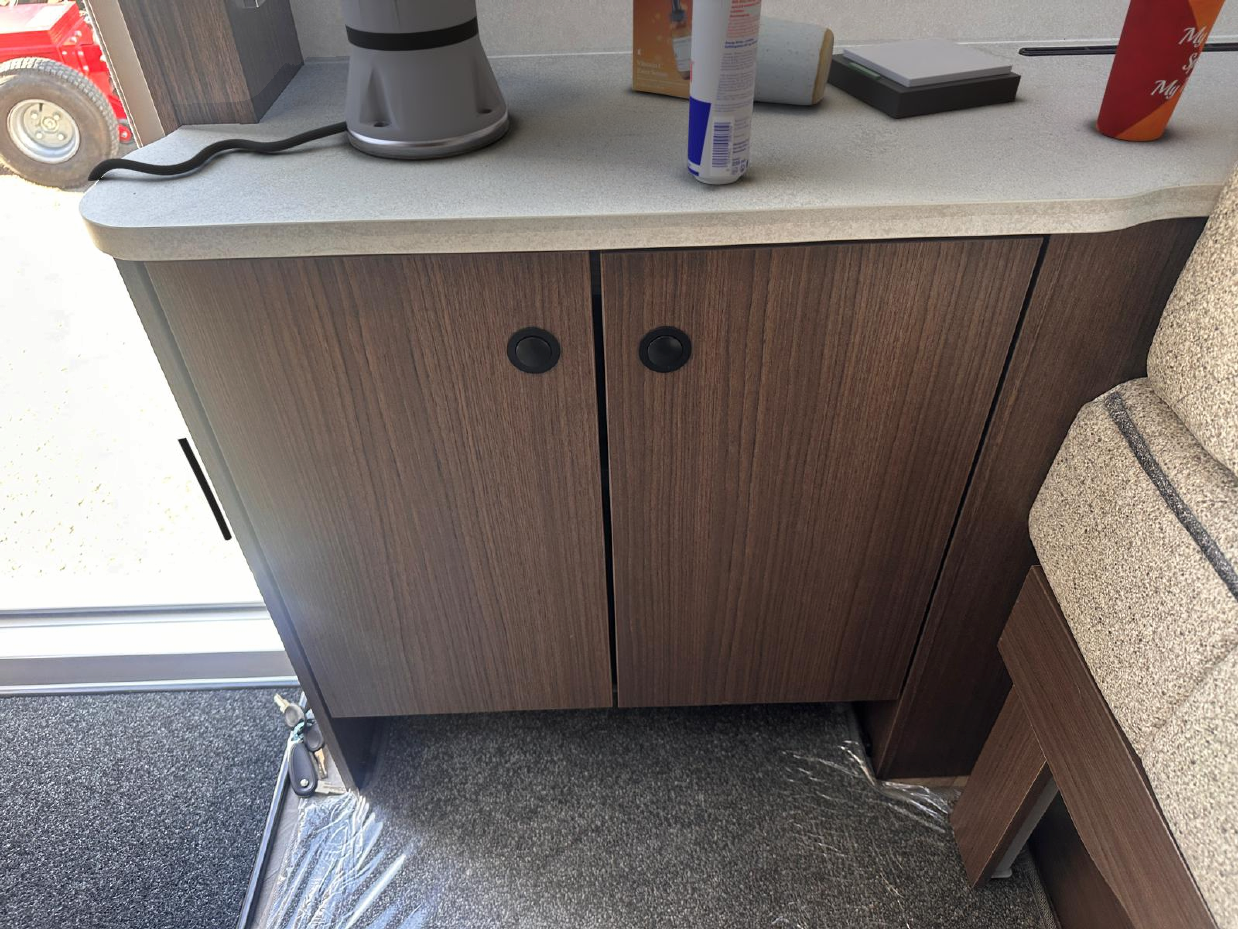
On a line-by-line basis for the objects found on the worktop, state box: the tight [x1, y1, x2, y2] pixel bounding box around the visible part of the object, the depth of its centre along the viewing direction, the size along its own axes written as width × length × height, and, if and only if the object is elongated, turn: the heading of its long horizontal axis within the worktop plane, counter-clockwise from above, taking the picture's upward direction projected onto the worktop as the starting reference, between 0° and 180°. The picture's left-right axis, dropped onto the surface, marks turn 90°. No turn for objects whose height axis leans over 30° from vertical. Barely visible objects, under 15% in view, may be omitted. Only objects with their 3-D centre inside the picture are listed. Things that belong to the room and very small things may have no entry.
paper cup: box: [1095, 0, 1226, 142], centre depth 73 cm, size 8×8×14 cm
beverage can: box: [686, 0, 762, 185], centre depth 66 cm, size 5×5×15 cm
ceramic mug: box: [753, 15, 835, 106], centre depth 84 cm, size 11×8×8 cm
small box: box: [631, 0, 693, 100], centre depth 86 cm, size 8×6×10 cm
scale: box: [827, 36, 1022, 119], centre depth 87 cm, size 14×14×3 cm
